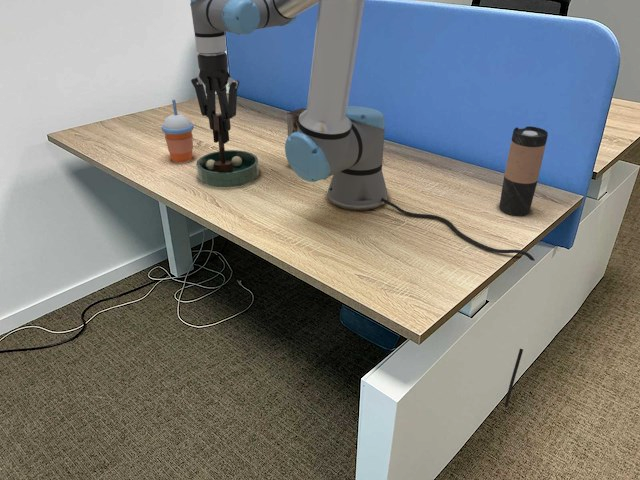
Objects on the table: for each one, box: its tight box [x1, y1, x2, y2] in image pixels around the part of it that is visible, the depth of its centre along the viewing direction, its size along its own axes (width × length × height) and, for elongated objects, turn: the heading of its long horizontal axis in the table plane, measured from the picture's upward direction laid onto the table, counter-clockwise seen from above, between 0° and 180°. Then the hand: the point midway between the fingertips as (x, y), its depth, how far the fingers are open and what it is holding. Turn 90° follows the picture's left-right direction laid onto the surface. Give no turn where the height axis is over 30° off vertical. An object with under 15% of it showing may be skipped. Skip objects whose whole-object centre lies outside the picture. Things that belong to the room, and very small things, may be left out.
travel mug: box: [499, 125, 549, 217], centre depth 124 cm, size 8×8×20 cm
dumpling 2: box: [232, 156, 242, 167], centre depth 150 cm, size 3×3×3 cm
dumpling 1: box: [206, 160, 215, 170], centre depth 148 cm, size 3×3×3 cm
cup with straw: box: [161, 99, 194, 163], centre depth 152 cm, size 9×9×18 cm
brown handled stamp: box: [213, 112, 233, 172], centre depth 144 cm, size 5×5×16 cm
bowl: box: [196, 149, 260, 188], centre depth 145 cm, size 17×17×4 cm
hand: (221, 141), depth 145 cm, fingers closed on brown handled stamp, 2 cm apart
